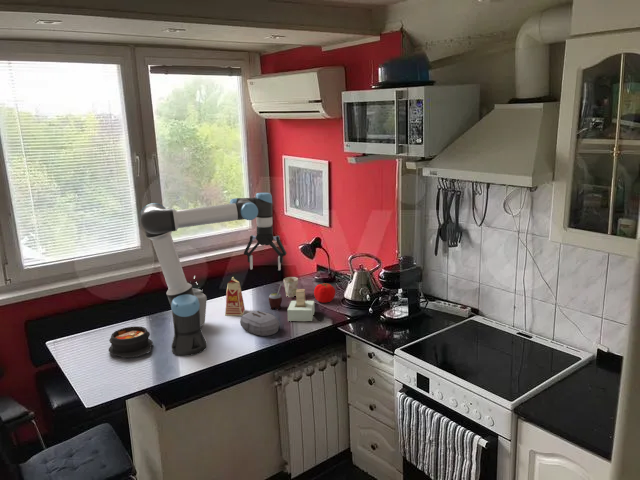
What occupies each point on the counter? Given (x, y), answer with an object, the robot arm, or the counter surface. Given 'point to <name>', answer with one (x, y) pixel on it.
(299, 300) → the peg
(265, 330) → the small grey backpack
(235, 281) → the milk carton
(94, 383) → the counter surface
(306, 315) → the socket block
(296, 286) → the mug
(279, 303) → the mate gourd
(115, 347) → the casserole
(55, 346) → the counter surface
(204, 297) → the jar
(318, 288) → the tomato
